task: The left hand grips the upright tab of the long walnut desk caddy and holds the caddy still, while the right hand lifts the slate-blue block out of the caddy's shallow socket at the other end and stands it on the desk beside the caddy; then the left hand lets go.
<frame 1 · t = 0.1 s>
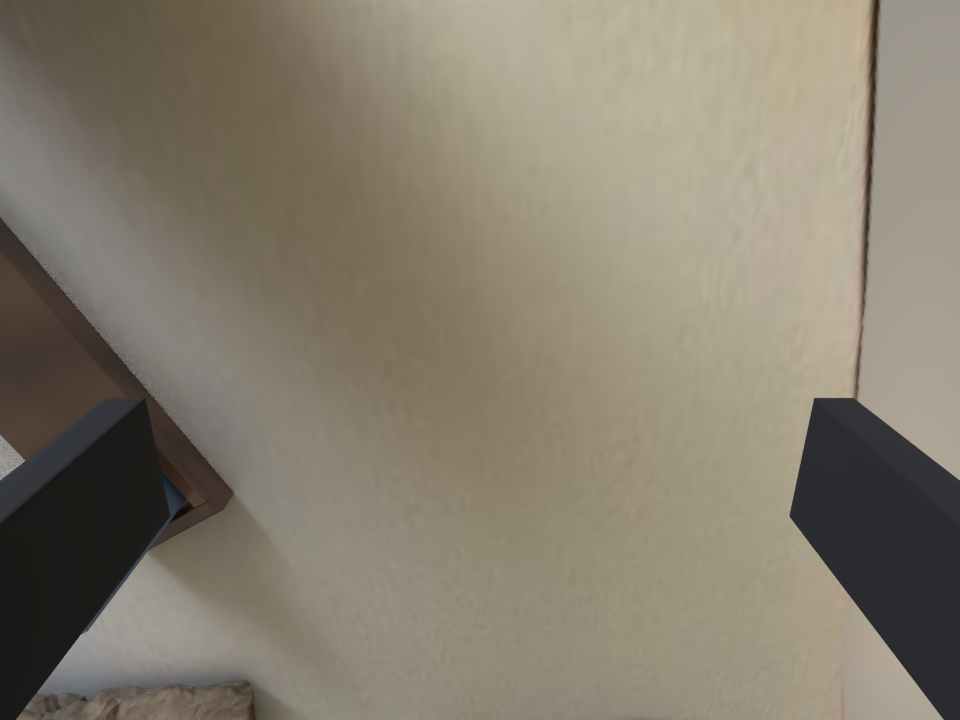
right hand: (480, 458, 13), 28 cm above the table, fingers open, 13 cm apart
walnut caddy: (47, 366, 42), on the table, touching slate block
slate block: (124, 484, 43), point 2 cm above the table, touching walnut caddy
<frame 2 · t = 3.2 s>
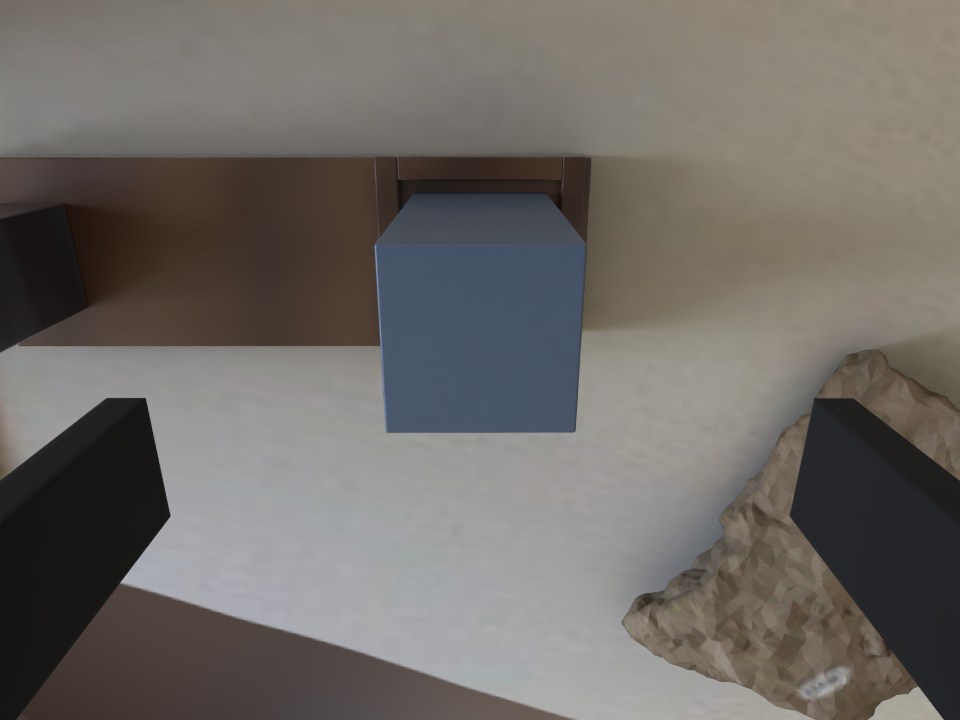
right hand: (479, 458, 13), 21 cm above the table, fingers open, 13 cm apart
walnut caddy: (300, 248, 32), on the table, touching slate block
slate block: (480, 257, 30), point 2 cm above the table, touching walnut caddy
stone: (808, 523, 38), on the table
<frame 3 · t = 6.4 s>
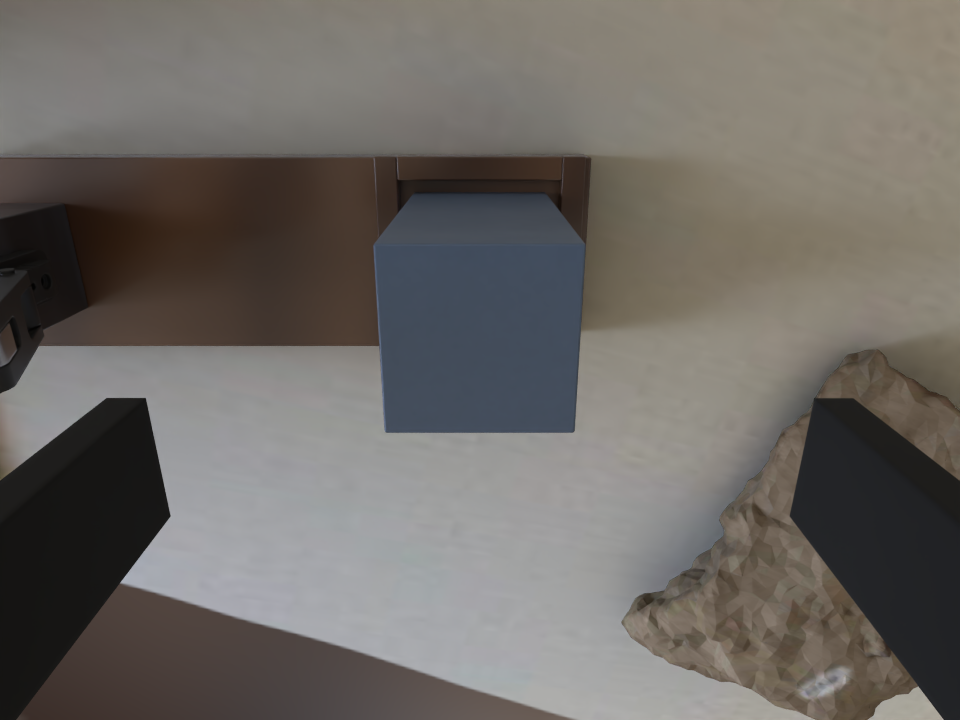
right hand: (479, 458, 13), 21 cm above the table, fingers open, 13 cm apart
walnut caddy: (300, 248, 32), on the table, touching left hand, slate block
slate block: (479, 257, 30), point 2 cm above the table, touching walnut caddy
stone: (808, 523, 38), on the table
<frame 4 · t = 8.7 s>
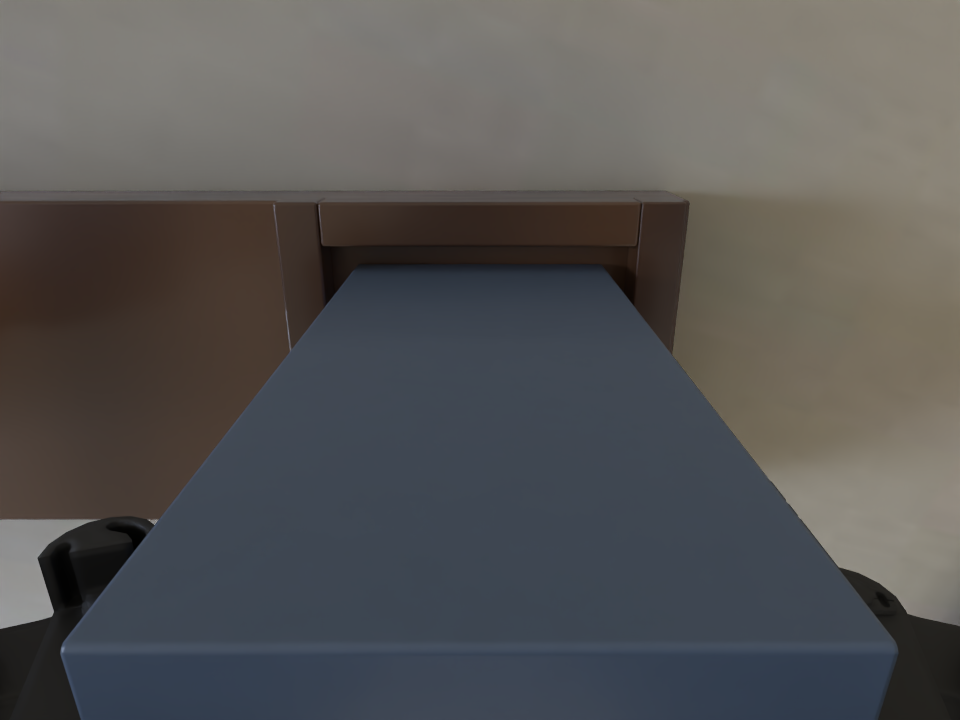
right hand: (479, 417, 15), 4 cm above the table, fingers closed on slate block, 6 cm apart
walnut caddy: (170, 349, 19), on the table, touching left hand, slate block
slate block: (479, 376, 17), point 2 cm above the table, touching right hand, walnut caddy
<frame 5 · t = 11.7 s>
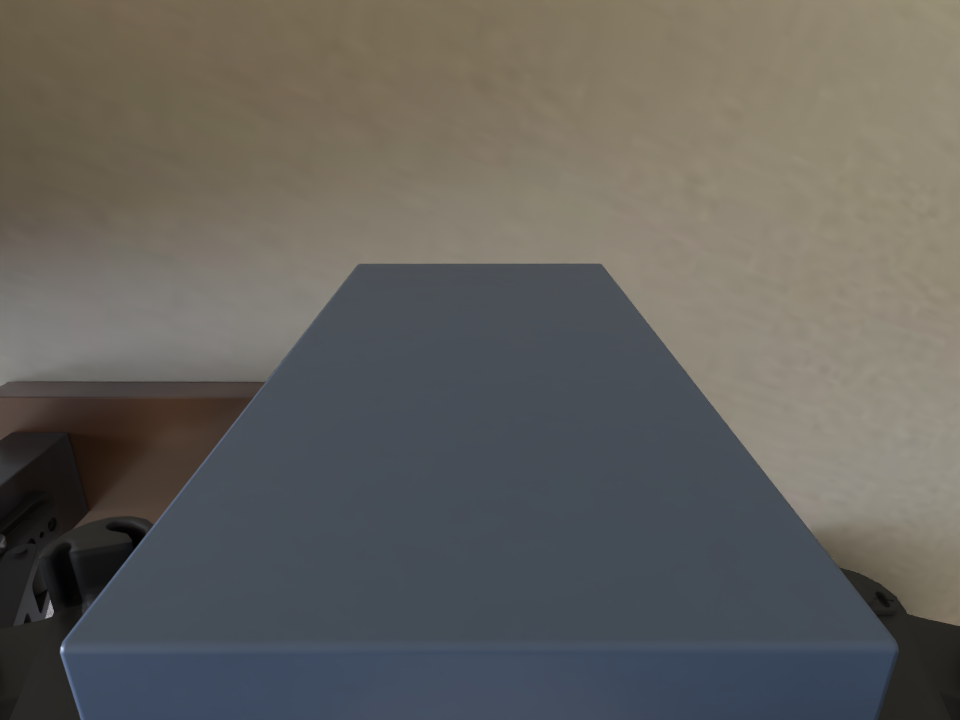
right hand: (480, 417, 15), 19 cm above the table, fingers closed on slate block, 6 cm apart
walnut caddy: (276, 454, 36), on the table, touching left hand
slate block: (479, 376, 17), point 16 cm above the table, touching right hand
when the right hand's fingers open (4 cm above the table, at t = 14.7 s): slate block drops 1 cm, on the table.
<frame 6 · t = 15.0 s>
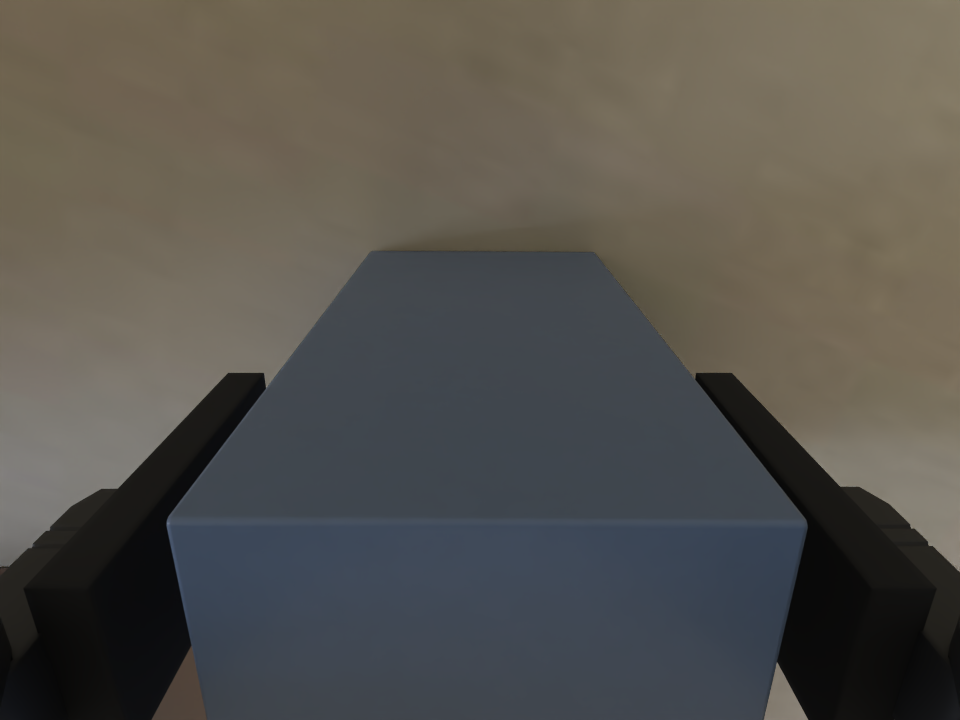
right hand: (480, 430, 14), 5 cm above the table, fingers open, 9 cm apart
walnut caddy: (153, 670, 22), on the table, touching left hand
slate block: (481, 355, 18), on the table
when the left hand's fingers open (5 cm above the table, at t = 18.0 s): walnut caddy stays where it is, on the table.
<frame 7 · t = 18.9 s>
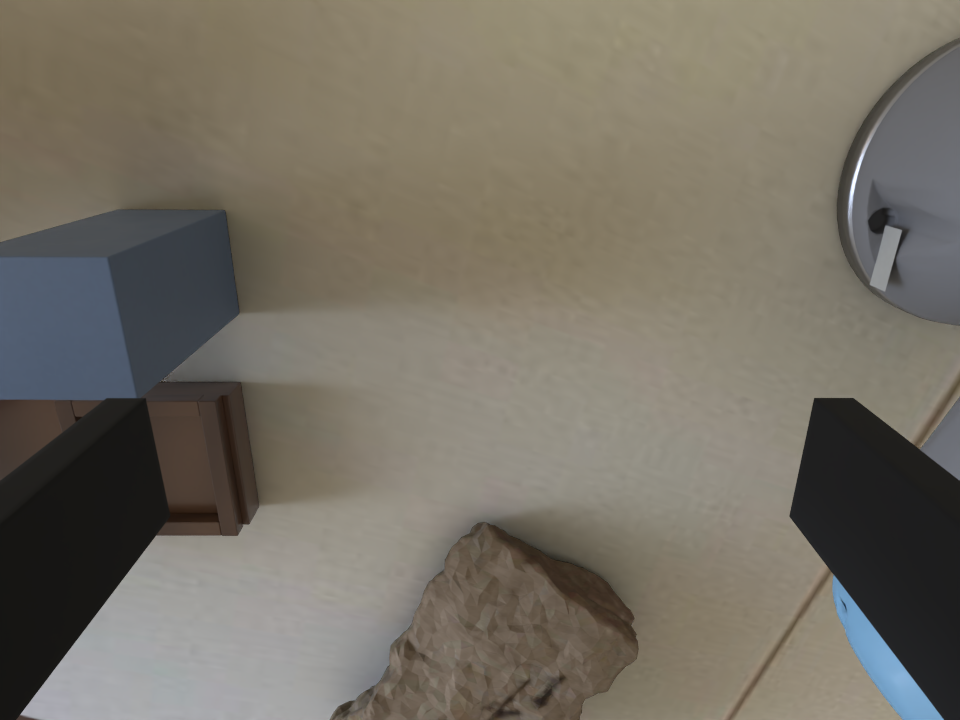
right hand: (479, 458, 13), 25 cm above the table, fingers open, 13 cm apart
walnut caddy: (30, 446, 41), on the table
slate block: (180, 263, 36), on the table
stone: (479, 645, 47), on the table
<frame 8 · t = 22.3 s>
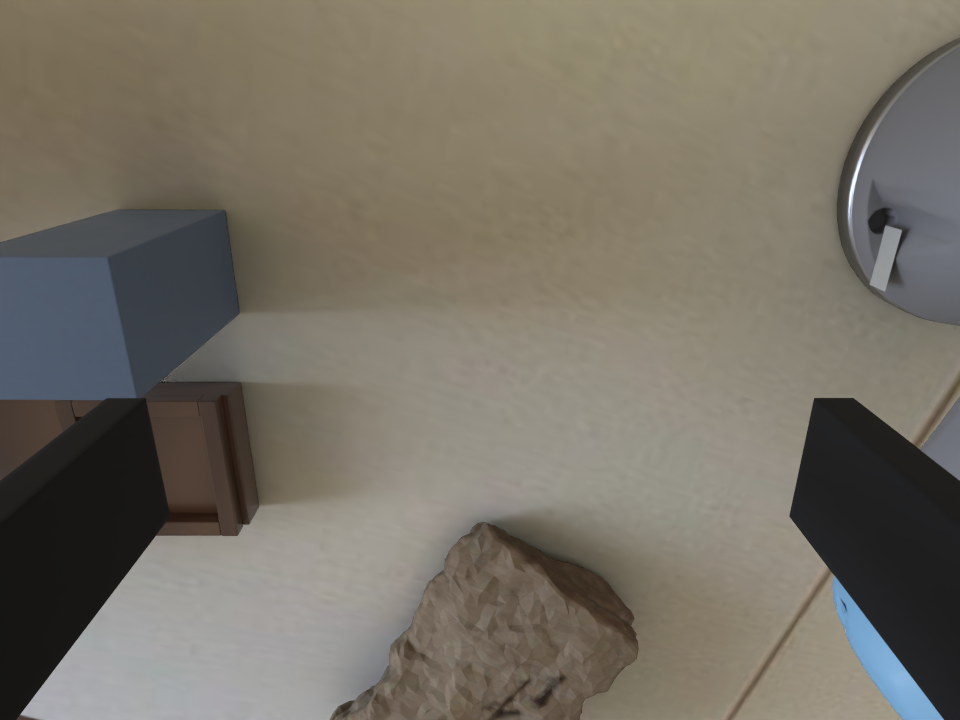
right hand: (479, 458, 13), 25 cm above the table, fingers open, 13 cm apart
walnut caddy: (30, 446, 41), on the table
slate block: (180, 263, 36), on the table
stone: (479, 645, 47), on the table
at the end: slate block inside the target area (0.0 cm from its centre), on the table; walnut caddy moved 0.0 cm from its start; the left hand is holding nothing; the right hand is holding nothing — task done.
